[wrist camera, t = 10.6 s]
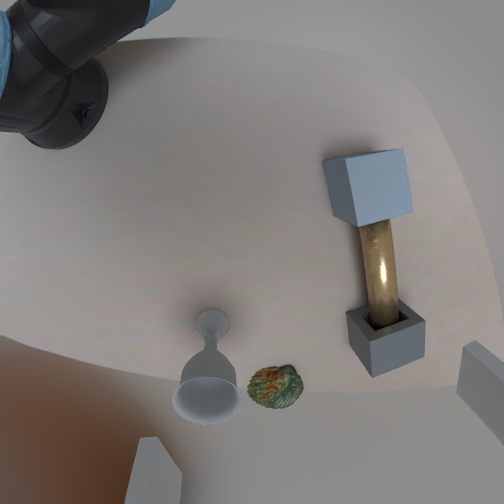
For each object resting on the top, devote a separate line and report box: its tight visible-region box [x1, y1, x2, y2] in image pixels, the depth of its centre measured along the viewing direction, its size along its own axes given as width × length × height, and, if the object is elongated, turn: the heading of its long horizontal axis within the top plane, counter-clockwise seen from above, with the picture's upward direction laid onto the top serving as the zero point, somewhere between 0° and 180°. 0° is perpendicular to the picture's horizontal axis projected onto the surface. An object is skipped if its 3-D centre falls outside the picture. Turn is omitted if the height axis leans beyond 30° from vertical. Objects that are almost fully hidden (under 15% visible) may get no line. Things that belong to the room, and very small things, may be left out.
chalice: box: [172, 310, 243, 425], centre depth 38 cm, size 7×7×18 cm
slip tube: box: [359, 219, 399, 331], centre depth 42 cm, size 22×4×4 cm, turn 14°
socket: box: [346, 299, 425, 378], centre depth 45 cm, size 6×9×10 cm
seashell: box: [247, 365, 304, 409], centre depth 50 cm, size 10×4×10 cm
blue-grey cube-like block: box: [322, 149, 413, 227], centre depth 39 cm, size 8×8×9 cm
